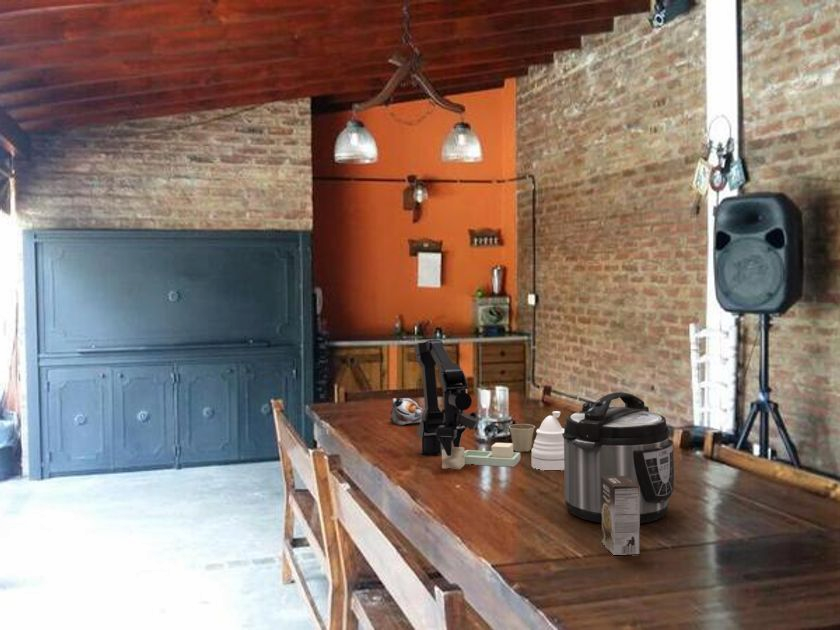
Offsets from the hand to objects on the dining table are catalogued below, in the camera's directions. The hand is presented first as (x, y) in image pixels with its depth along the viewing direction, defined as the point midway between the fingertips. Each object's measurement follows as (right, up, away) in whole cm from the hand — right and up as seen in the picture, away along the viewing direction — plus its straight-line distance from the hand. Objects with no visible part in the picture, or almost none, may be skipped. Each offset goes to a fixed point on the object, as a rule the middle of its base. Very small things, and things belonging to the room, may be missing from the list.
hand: (453, 452), depth 275 cm
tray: (+12, -4, +5) cm, 14 cm away
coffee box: (+35, -9, -83) cm, 91 cm away
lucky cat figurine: (-16, -1, +79) cm, 81 cm away
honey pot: (+32, -4, -2) cm, 32 cm away
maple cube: (0, -5, 0) cm, 5 cm away
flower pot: (+26, -3, +22) cm, 34 cm away
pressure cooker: (+42, -7, -55) cm, 69 cm away
